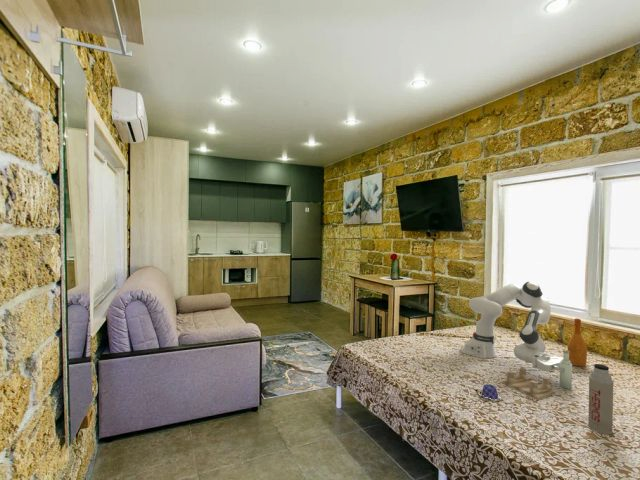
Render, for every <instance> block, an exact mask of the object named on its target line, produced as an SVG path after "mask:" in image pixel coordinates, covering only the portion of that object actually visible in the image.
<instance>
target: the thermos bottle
mask: <svg viewBox="0 0 640 480" xmlns="http://www.w3.org/2000/svg"><path fill="white" fill-rule="evenodd" d="M609 369H610V368H609V366H607V365H604V364H600V363H594V364H593V370H591V372H590V375H589V376H588V421H587V422H588V425H587V426H588V427H589V428H590V429H591V430H592V429H593V430H592V431H594V430H595V431H594V432H596V431H597V433H600V434H602V433H603V435H612V434H613V427H614V426H613V423H614V422H613V421H614V380H613V379H612V374H610V371H609Z"/></svg>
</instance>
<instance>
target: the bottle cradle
mask: <svg viewBox="0 0 640 480" xmlns="http://www.w3.org/2000/svg"><path fill="white" fill-rule="evenodd" d="M518 373H519V374H515V371H512V370H507V372H506V379H503V380H502V384H505V386H509V387H510V388H513V389H514V390H517V391H519V392H522V393H523V394H525V395H528V396H530V397H532V398H534V399H537V400H541V399H543V398H547V397H550V396H553V395H555V394H556V390H553V389H551V378H550V377H548V376H543V377H542V382H541V384H539V382H538V381H535V380H533V379H532V380H530V379H527V368H524V367H519V368H518Z"/></svg>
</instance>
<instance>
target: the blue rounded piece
mask: <svg viewBox="0 0 640 480" xmlns="http://www.w3.org/2000/svg"><path fill="white" fill-rule="evenodd" d="M481 389H482V395H484V396H485V397H488V398H487V399H489V398H491V399H493V400H492V401H494V402H496V401H501V400H503V398H504V397H503V395H502V394H501V393H499V392H498V391H497V387H496V386H495V385H492V384H489V383H486V384H484V385H483V387H482V388H481ZM498 395H499V396H500V397H501V398H500V400H495V399H498ZM484 396H483V397H484Z"/></svg>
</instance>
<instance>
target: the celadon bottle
mask: <svg viewBox="0 0 640 480" xmlns="http://www.w3.org/2000/svg"><path fill="white" fill-rule="evenodd" d="M562 358H563V359H562V361H560V367H562V368H564V369H565V371H563V372H562V371H559V378H558V379H559V380H558V381H559V382H558V383H559V386H560V387H562V388H564V389H572V388H573V387H572V386H573V385H572V384H573V365H572V364H571V361H570V360H569V351H568V349H563V350H562Z"/></svg>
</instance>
